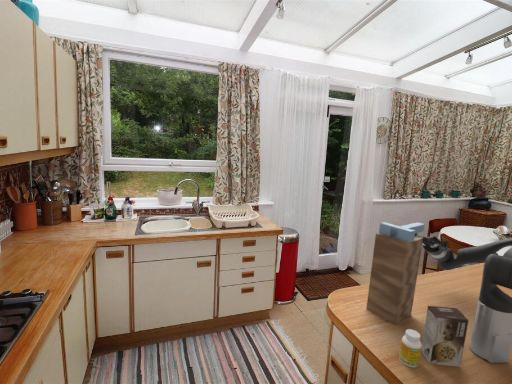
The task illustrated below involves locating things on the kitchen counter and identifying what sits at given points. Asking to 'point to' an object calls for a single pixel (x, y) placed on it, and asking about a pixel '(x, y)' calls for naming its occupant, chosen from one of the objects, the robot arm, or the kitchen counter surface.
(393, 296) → the pedestal
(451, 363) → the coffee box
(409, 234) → the t bar
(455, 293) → the kitchen counter surface
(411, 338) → the supplement bottle
